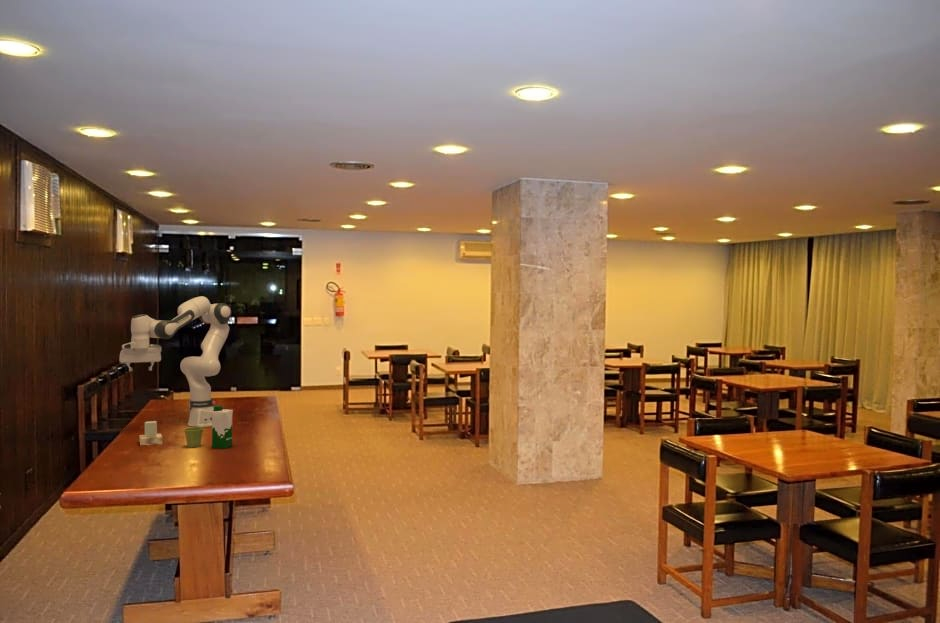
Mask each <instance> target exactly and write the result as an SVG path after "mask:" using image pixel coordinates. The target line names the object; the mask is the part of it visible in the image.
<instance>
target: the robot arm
mask: <svg viewBox="0 0 940 623" xmlns="http://www.w3.org/2000/svg"><path fill="white" fill-rule="evenodd" d="M231 317H232V309H231V306H230V305H228V304H227V303H223V302H220V303H213V304H211V302H210V300H209V299H208V297H206V296H202V295H201V296H197V297H192V298H191V299H189V300H187V301H185V302H183V303H181V304H180V305H179V306H178V307H177V316H176V317H174V318H173V319H170V320H169V319H167V320H160V319H159V320H158V319H157V320H156V319H155V318H152V317H150V316H149V315H148V314H145V313H142V314H136V315H134V316H132V317H131V321H130V322H131V323H130V332H131V339H130V342H127V343H124V344H122V345H121V351H120V353H119V358H118V360H119V363H121V364H126V366H127V367H128V371H129V372H133V367H131V364H133V363H150V366H148V371H153V366H154V364H155V363H158V362H161V360H162V355H161V354H162V353H161V352H162V346H161V345H159V344H150V338H153V339H154V338H155V339H163V340H168V339H169V340H170V339H171V338H173V336H174V335H175V334H176V333H177V332H178V330H180V329H182V328H183V327H184V326H186V325H188V324H190V323H191V322H193V321H194V320H196V319H199V320H200V321H201V323H204V324H210V327H209V330H208V331H207V333H206V335H205V336H204V339H203V340H202V342H201V344H200V349H201V351H202V354H201V355H200V356H187V357H184V358H183V359H182V360H181V361H180V365H179V366H180V371H181V372H182V374H183V375H185V377H186V379H187V382H188V385H189V395H190V397H189V399H190V400H189V403H188V406H189V407H188V408H189V418H188V421H187V426H188V427H202V428H205V427H206V428H207V427H212V417H211V411H213V410H214V406H216V405H215V404H216V403H217V402H216V401H215V400H214V399H212V394H211V393H212V387H211V385H210V384H209V382H207V380H206V377H212V376H216V375H218V374H219V373H220V371H221V363H220V360H219V355H220V352H221V350H222V348H223V347H224V345H225V343H226V340H227V338H228V336H229V332H230V326H229V325H228V323H229V322H230V319H231Z"/></svg>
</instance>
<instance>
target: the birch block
mask: <svg viewBox="0 0 940 623" xmlns="http://www.w3.org/2000/svg"><path fill="white" fill-rule="evenodd" d="M138 438H139V440H138V442H140V443H139V446H140V447H142V446H141V445H147V446H155V445H154V444H158V445H163V435H162V433H157V435H156V437H145V434H139V437H138Z"/></svg>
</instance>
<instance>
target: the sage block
mask: <svg viewBox="0 0 940 623" xmlns="http://www.w3.org/2000/svg"><path fill="white" fill-rule="evenodd" d="M157 424H158V423H157V420H153V421H152V420H149V421H145V422H144V435H145V437H156V435H157V434H158V425H157Z"/></svg>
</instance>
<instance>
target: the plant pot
mask: <svg viewBox="0 0 940 623" xmlns="http://www.w3.org/2000/svg"><path fill="white" fill-rule="evenodd" d="M204 428H205V427H195V426H192V427H187V428H184V429H183V432H184V435H185V440H186V445H187V447H188V448H199V447H200V446H201V444H202V435H203V431H204Z"/></svg>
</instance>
